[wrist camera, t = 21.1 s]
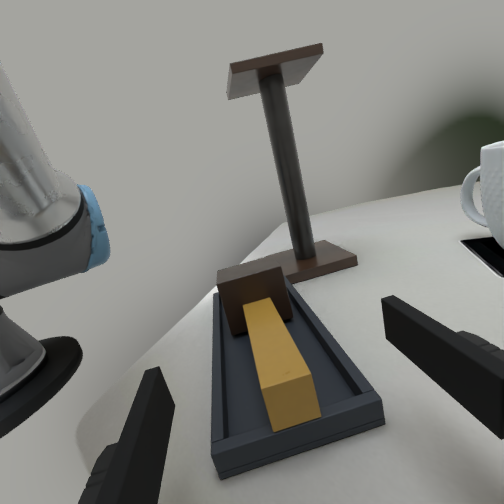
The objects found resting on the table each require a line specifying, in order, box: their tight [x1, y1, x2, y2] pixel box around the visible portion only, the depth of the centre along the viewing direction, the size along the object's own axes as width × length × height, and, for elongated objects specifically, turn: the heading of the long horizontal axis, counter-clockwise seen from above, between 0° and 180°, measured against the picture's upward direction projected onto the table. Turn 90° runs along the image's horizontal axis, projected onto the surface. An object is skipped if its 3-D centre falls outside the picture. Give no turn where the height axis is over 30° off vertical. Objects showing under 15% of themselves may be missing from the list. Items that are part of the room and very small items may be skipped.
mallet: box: [217, 256, 321, 432], centre depth 24 cm, size 19×7×6 cm, turn 8°
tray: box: [211, 274, 385, 480], centre depth 27 cm, size 24×11×2 cm, turn 8°
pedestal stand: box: [226, 43, 358, 284], centre depth 41 cm, size 12×12×30 cm
